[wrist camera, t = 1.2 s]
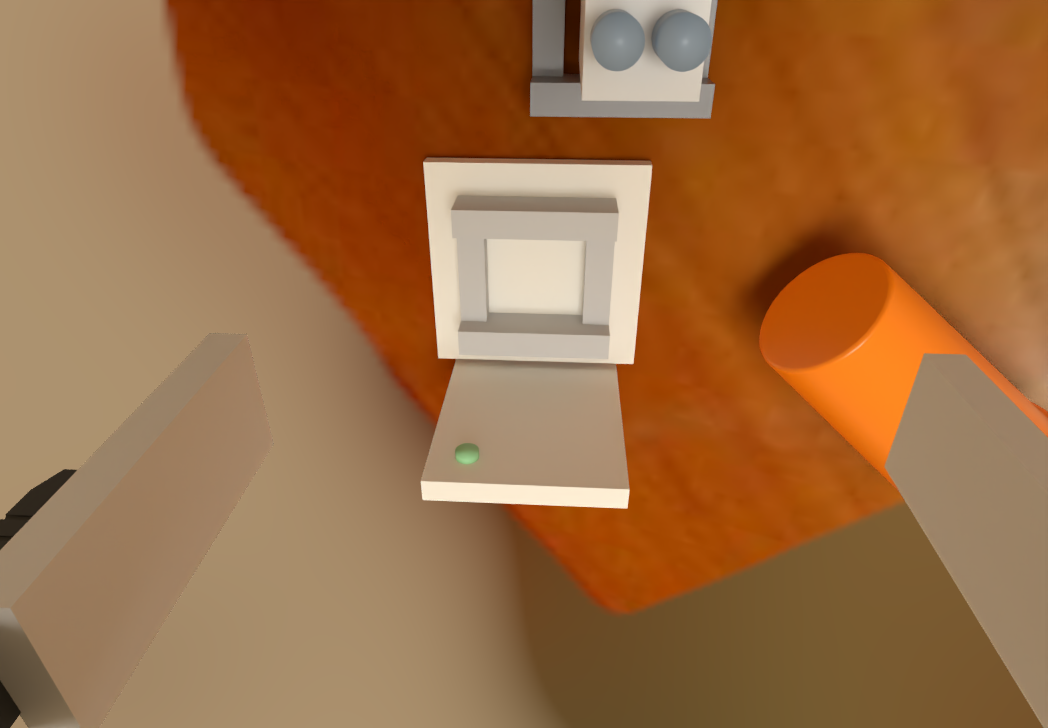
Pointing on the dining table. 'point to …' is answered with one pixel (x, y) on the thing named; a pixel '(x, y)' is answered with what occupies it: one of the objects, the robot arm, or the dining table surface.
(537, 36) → the grey square frame
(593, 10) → the plug
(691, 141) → the dining table surface
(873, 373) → the shaker bottle
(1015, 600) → the robot arm
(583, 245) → the port
